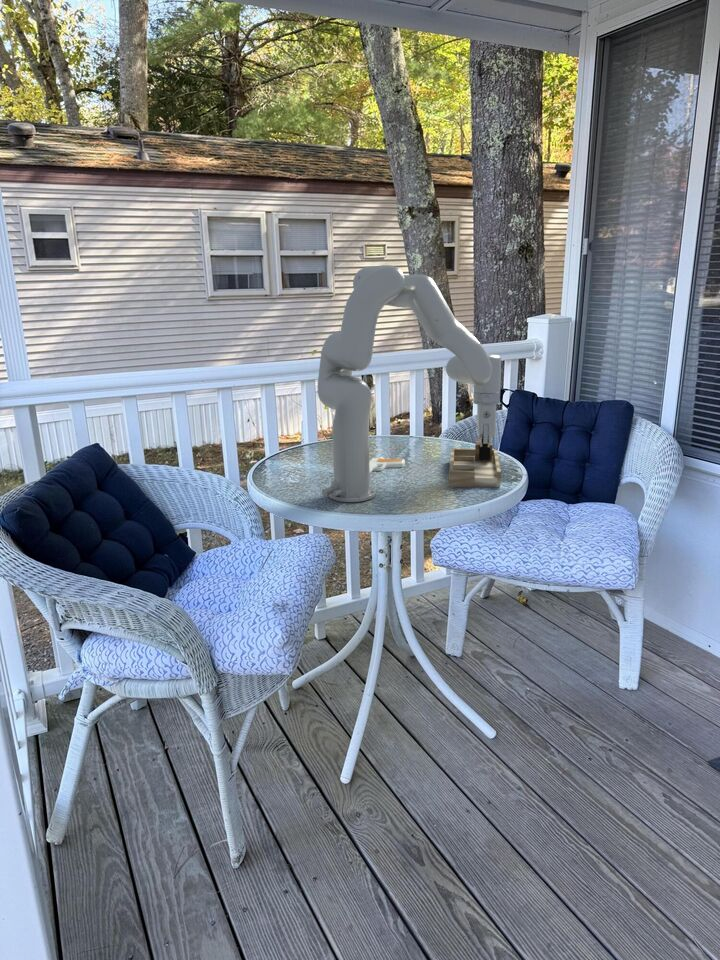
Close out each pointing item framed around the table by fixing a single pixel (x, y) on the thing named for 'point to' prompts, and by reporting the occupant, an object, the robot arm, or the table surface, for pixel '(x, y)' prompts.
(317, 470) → the table surface
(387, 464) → the pistol
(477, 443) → the block
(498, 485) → the tray
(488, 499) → the table surface
